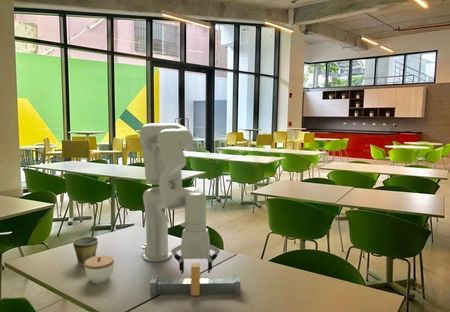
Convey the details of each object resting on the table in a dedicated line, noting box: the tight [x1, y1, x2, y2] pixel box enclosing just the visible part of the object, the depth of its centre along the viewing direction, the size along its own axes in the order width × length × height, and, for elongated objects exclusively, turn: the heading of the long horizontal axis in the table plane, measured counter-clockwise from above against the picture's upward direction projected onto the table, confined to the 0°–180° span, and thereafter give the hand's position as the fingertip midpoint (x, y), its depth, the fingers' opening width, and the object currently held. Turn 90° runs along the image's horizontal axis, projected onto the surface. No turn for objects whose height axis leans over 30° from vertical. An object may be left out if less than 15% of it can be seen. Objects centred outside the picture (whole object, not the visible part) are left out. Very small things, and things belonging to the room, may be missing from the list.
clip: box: [190, 262, 201, 296], centre depth 133 cm, size 8×3×10 cm, turn 2°
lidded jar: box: [84, 255, 114, 284], centre depth 142 cm, size 11×11×9 cm
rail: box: [149, 273, 241, 297], centre depth 133 cm, size 32×6×5 cm, turn 92°
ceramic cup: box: [72, 236, 99, 267], centre depth 159 cm, size 13×10×10 cm
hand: (195, 271), depth 133 cm, fingers open, 9 cm apart
